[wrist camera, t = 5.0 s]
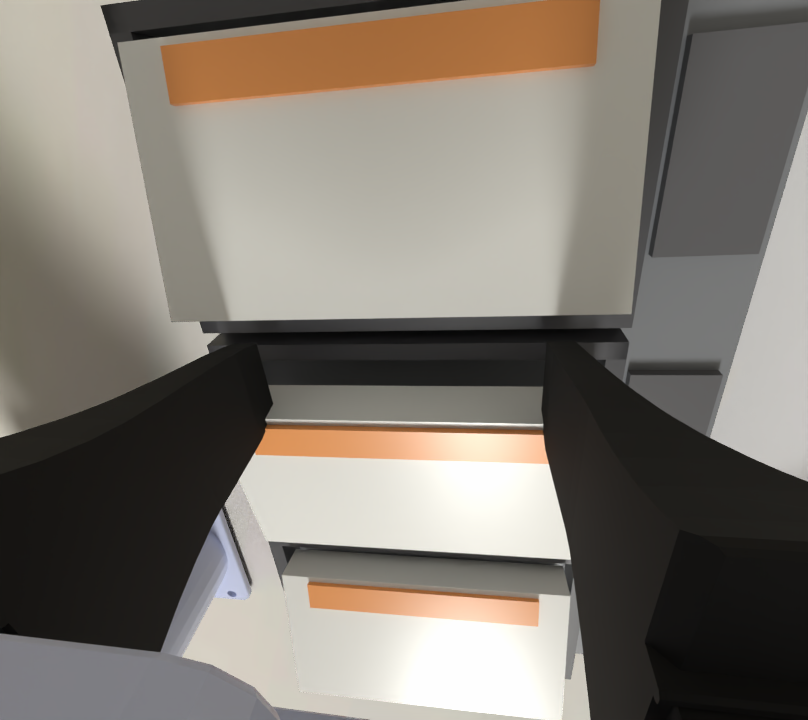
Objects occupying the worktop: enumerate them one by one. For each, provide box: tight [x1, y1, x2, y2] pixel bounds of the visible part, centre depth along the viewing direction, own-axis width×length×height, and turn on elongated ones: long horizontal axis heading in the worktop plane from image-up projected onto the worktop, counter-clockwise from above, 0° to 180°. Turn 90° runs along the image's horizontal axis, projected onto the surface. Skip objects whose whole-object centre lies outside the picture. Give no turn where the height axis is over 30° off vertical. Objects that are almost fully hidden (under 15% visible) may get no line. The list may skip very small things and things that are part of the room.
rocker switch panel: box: [101, 0, 808, 679], centre depth 17 cm, size 15×28×4 cm, turn 4°
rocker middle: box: [239, 385, 571, 560], centre depth 14 cm, size 10×6×2 cm, turn 94°
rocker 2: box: [282, 549, 570, 720], centre depth 17 cm, size 10×6×2 cm, turn 94°
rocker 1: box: [117, 0, 661, 322], centre depth 10 cm, size 10×6×2 cm, turn 94°
